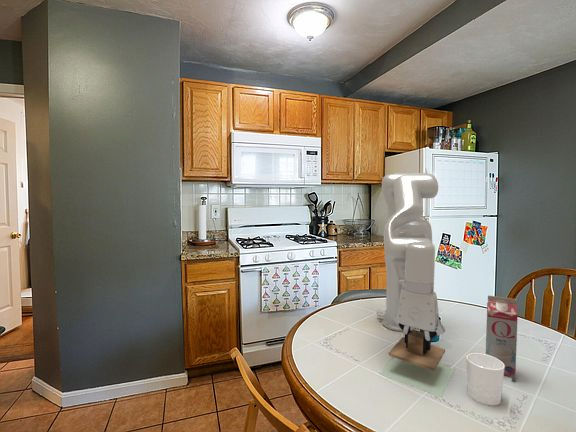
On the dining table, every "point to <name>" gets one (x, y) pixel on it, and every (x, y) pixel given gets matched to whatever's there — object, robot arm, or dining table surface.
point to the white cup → (485, 378)
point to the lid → (417, 351)
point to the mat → (419, 376)
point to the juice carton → (502, 332)
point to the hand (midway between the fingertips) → (417, 348)
